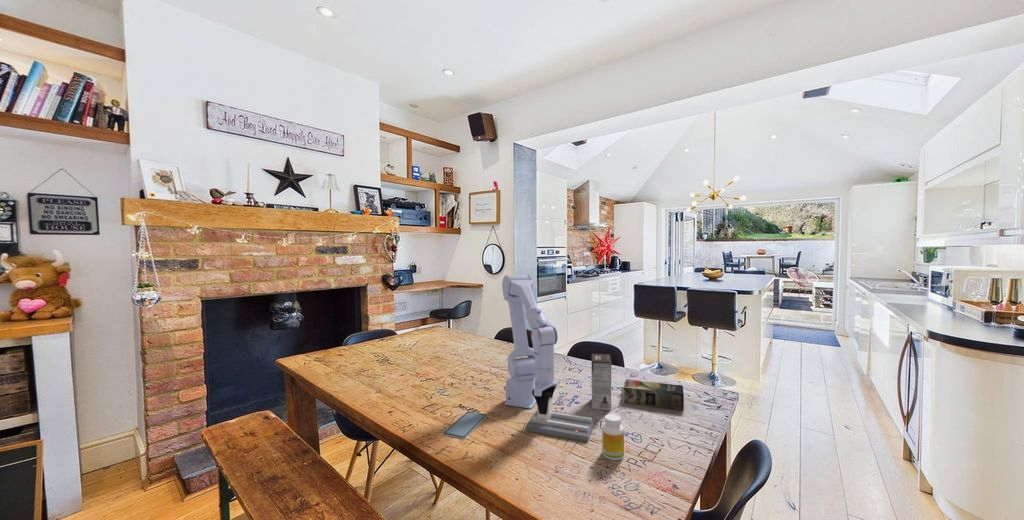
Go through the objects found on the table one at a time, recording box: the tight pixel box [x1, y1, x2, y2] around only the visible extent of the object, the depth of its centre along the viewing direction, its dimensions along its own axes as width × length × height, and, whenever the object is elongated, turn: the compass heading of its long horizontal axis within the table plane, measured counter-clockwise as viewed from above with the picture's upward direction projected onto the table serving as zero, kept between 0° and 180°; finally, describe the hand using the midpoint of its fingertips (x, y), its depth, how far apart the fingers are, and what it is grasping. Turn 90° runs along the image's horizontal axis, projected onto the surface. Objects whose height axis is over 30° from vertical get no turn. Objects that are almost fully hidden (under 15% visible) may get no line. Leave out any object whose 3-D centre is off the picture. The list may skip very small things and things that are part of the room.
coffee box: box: [591, 353, 612, 411], centre depth 124 cm, size 9×6×16 cm
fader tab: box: [538, 397, 553, 420], centre depth 110 cm, size 3×4×6 cm
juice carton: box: [621, 378, 685, 412], centre depth 126 cm, size 20×10×6 cm, turn 67°
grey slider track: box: [525, 408, 596, 443], centre depth 109 cm, size 18×12×2 cm, turn 69°
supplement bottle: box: [601, 413, 625, 461], centre depth 93 cm, size 5×5×10 cm
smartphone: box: [442, 410, 488, 440], centre depth 110 cm, size 7×1×15 cm
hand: (544, 411), depth 110 cm, fingers closed on fader tab, 3 cm apart
